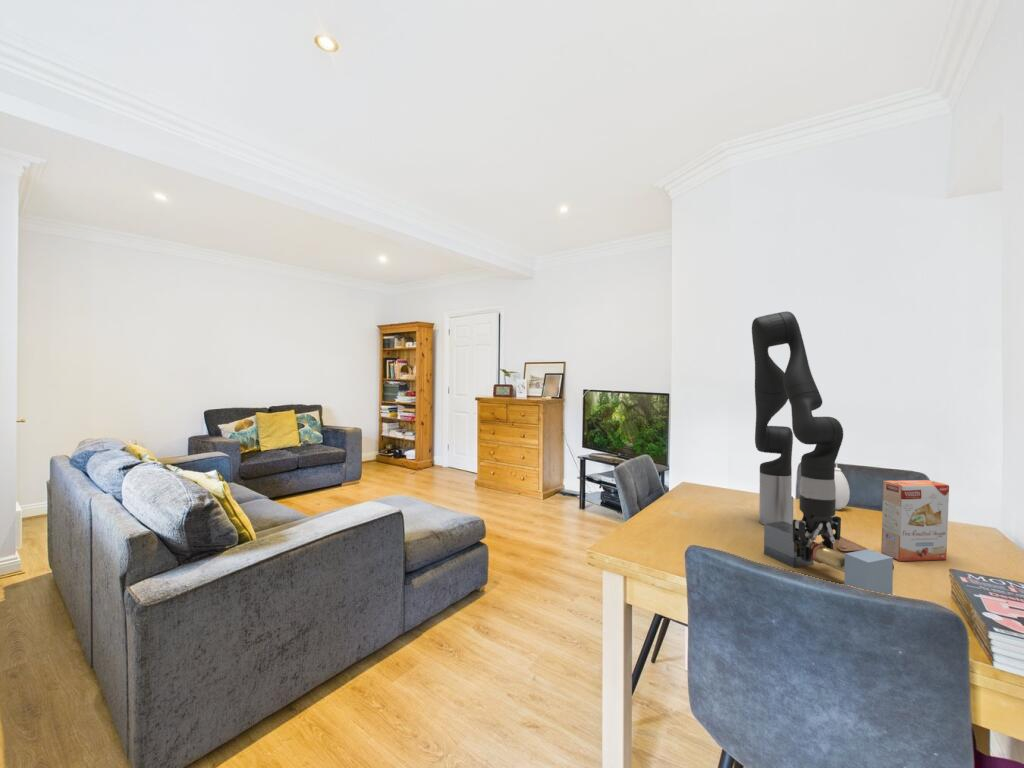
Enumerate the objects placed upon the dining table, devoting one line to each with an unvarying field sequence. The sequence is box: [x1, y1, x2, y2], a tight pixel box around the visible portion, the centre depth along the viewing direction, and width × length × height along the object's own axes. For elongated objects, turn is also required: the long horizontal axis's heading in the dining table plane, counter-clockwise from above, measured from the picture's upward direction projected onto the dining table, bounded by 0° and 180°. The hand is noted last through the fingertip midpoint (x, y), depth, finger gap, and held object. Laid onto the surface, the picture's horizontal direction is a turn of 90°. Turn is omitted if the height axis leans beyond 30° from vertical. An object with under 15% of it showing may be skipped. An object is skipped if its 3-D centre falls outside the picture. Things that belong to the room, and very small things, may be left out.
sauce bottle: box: [834, 461, 851, 511], centre depth 160 cm, size 8×8×18 cm
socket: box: [844, 548, 894, 595], centre depth 98 cm, size 8×5×9 cm, turn 108°
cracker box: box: [880, 479, 950, 562], centre depth 118 cm, size 14×6×21 cm, turn 94°
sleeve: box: [763, 521, 815, 568], centre depth 117 cm, size 7×9×9 cm
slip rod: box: [797, 540, 845, 573], centre depth 112 cm, size 5×19×5 cm, turn 18°
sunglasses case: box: [818, 535, 895, 570], centre depth 118 cm, size 18×7×7 cm, turn 5°
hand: (816, 558), depth 109 cm, fingers open, 7 cm apart
